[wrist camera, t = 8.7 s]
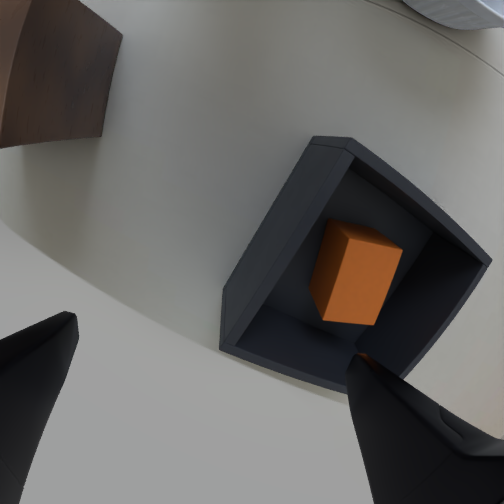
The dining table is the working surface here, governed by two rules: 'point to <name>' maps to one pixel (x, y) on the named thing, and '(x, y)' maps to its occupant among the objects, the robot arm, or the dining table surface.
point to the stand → (53, 71)
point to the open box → (305, 256)
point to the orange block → (353, 273)
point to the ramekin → (462, 12)
